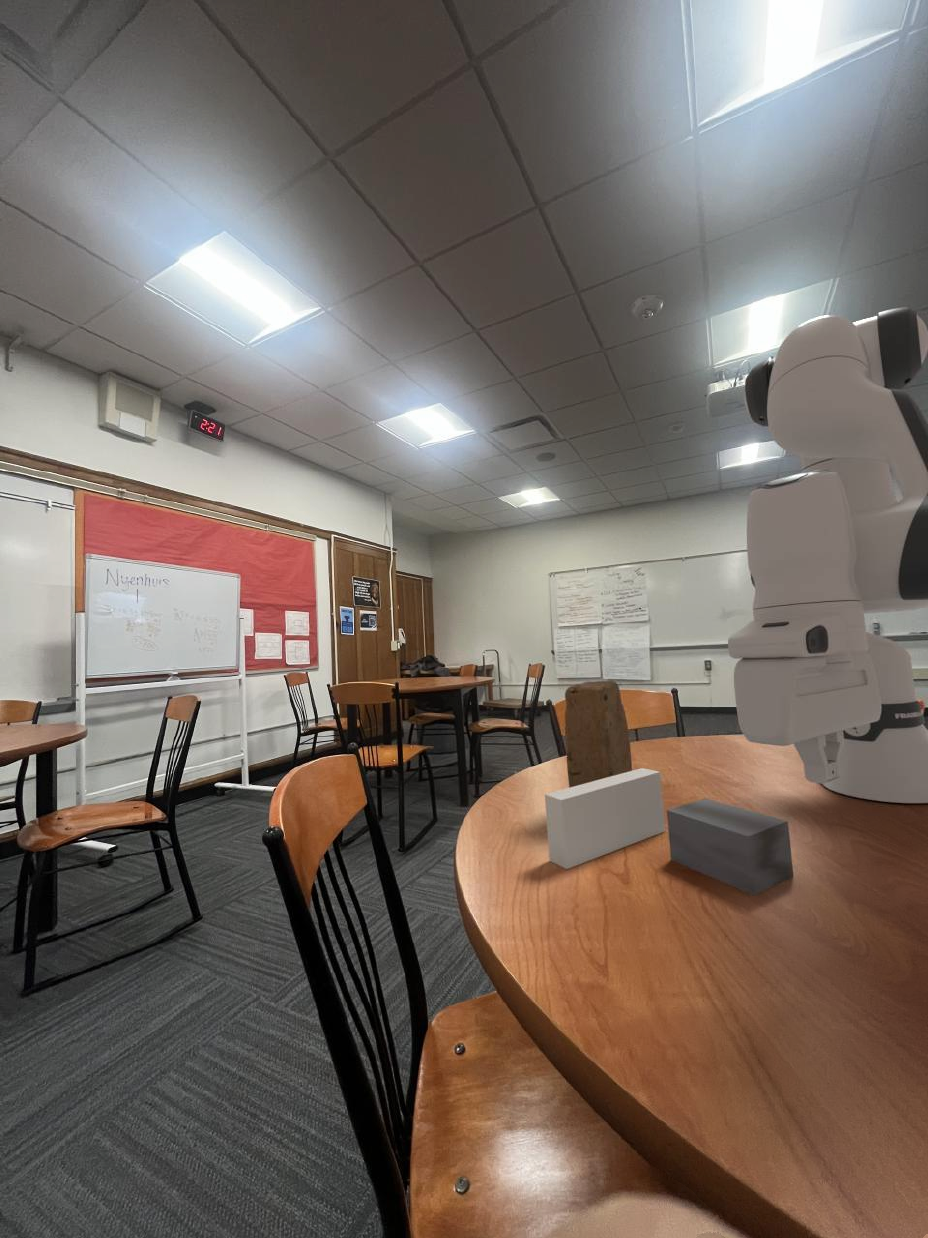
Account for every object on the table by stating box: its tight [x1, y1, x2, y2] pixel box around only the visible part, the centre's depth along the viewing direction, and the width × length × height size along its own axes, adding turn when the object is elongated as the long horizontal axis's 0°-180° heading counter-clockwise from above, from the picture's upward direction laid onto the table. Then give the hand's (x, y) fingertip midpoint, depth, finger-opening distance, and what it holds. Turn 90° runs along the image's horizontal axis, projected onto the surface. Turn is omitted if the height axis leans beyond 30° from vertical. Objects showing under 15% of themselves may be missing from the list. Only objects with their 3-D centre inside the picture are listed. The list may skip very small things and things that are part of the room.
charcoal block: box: [666, 798, 794, 896], centre depth 55 cm, size 7×10×6 cm
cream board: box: [544, 767, 666, 870], centre depth 63 cm, size 18×3×8 cm, turn 121°
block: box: [564, 680, 633, 788], centre depth 77 cm, size 11×8×20 cm
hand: (823, 780), depth 46 cm, fingers closed
